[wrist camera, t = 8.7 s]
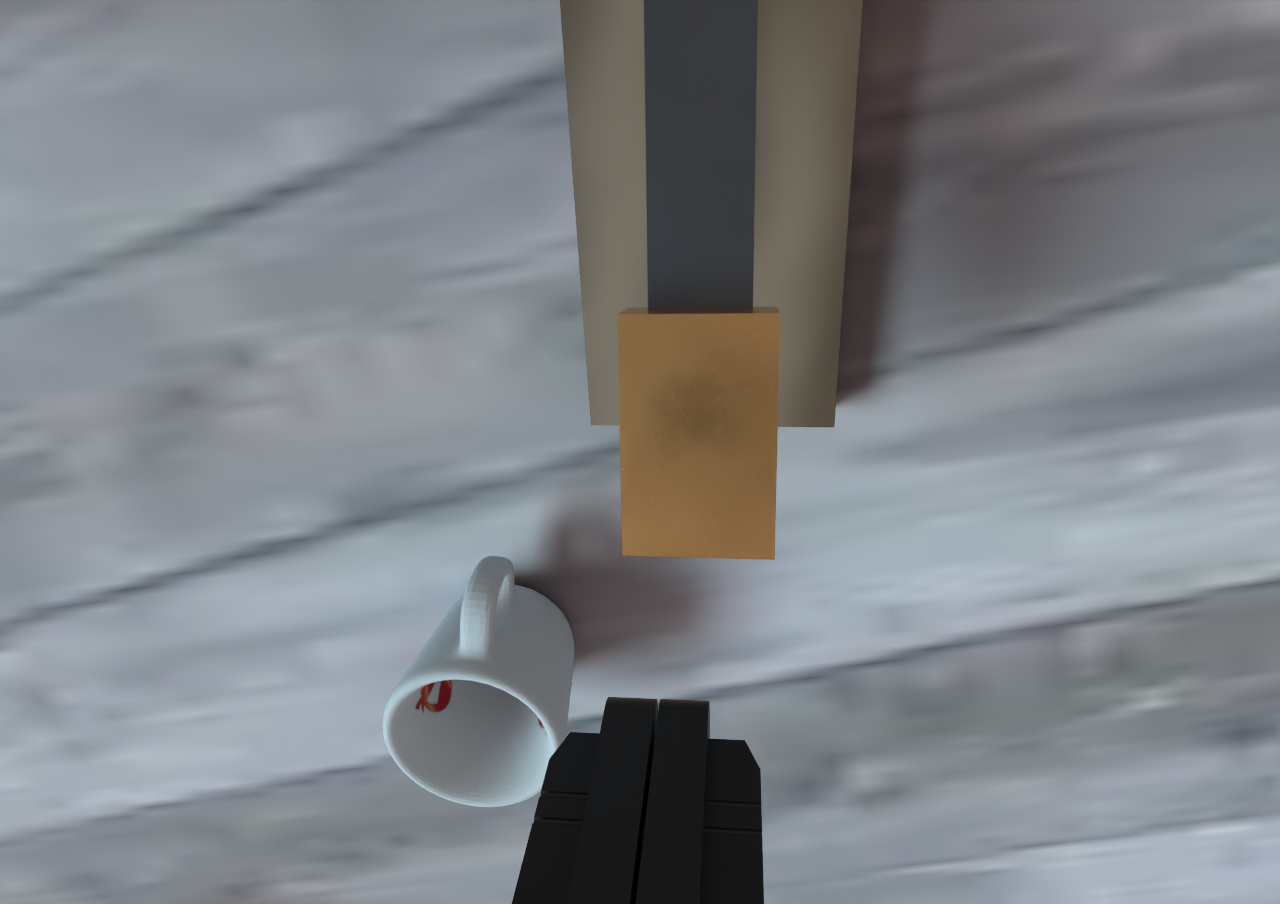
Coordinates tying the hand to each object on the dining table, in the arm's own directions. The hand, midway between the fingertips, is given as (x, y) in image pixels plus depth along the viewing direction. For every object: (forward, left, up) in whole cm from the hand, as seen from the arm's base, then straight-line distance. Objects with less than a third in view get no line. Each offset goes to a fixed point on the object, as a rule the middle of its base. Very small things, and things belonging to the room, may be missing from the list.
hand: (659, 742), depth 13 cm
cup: (-10, -16, -25) cm, 31 cm away
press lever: (0, +7, -17) cm, 18 cm away
